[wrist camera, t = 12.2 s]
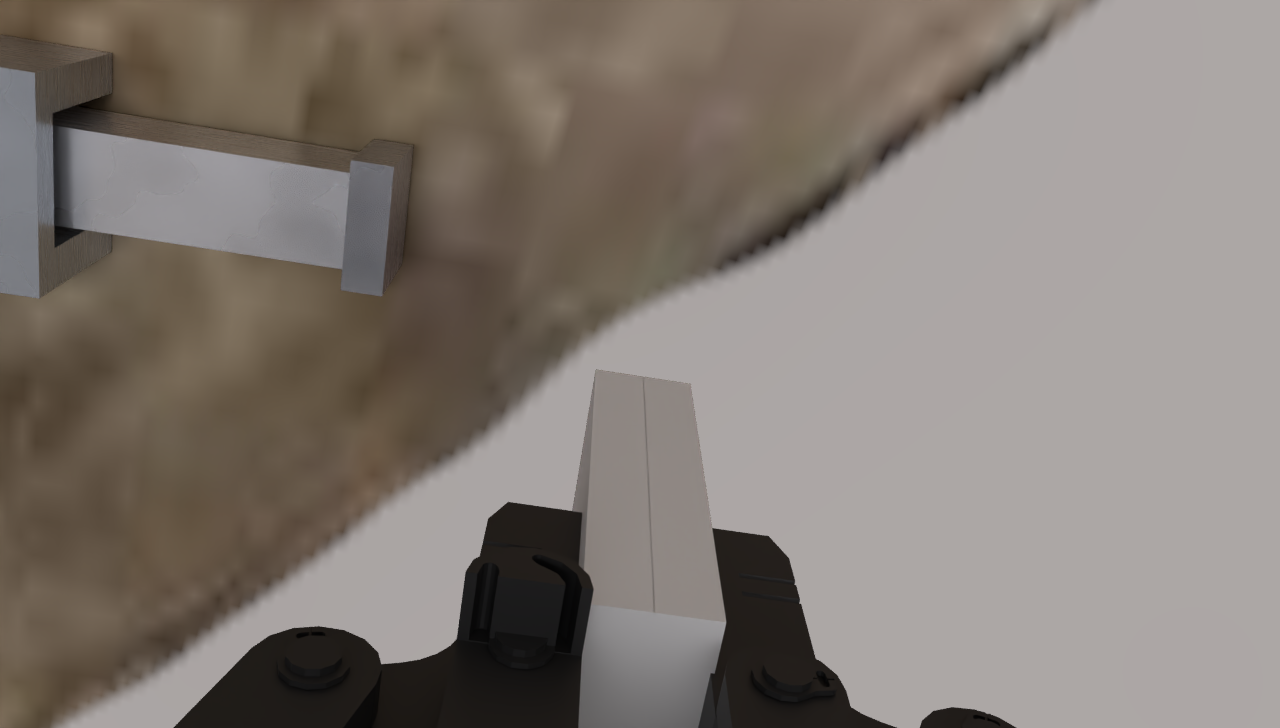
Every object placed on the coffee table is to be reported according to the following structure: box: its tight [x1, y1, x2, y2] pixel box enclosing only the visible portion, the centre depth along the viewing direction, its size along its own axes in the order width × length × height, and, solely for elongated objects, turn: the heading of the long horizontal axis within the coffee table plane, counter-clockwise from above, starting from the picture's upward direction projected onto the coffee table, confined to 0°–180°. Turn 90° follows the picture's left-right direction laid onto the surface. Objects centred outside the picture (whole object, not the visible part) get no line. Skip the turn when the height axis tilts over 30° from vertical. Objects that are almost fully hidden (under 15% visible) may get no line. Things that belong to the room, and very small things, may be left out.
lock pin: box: [52, 106, 414, 296], centre depth 28 cm, size 10×3×3 cm, turn 81°
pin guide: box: [0, 35, 112, 298], centre depth 27 cm, size 4×5×4 cm
